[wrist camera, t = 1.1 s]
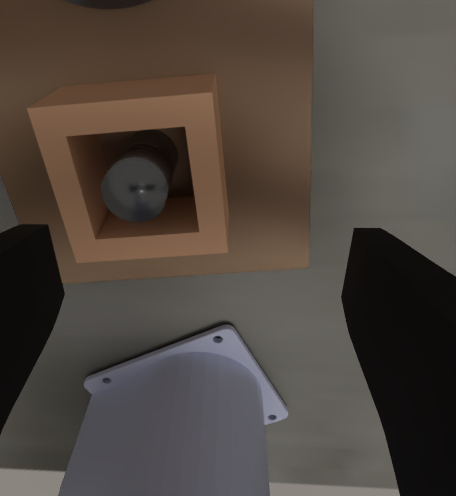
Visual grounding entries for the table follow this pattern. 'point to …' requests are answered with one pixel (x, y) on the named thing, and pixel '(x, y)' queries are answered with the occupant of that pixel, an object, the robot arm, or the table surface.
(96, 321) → the table surface
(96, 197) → the collar
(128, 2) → the hub
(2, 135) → the walnut board
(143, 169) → the stand rod
